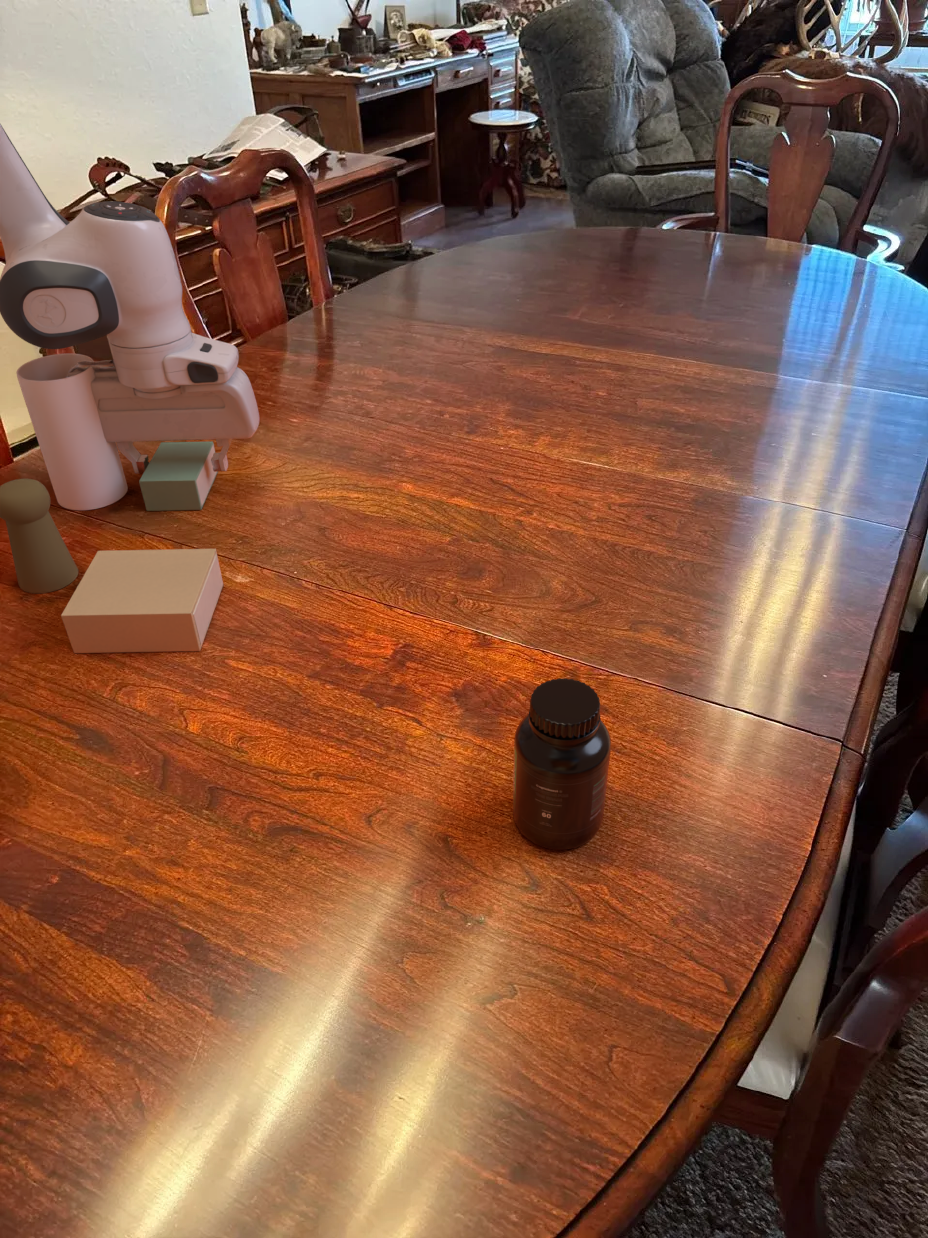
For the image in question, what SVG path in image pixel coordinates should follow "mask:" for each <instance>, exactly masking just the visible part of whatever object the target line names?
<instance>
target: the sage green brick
mask: <svg viewBox="0 0 928 1238" xmlns="http://www.w3.org/2000/svg"><path fill="white" fill-rule="evenodd" d="M214 453H216V449H215V444H214V441H213V440H210V441H160V443H159V445H158V447H157V449H156V450H155V452H154V453H153V456H152V457H151V459H150V461H149V464H148V466H147V468H146V470H145V471H144V473H143V474H141V477H140V478H139V480H138V484H139V487H140V490H141V491H140V492H141V495H142V498H143V503H144V507H145V510H146V512H161V511H162V512H163V511H167V512H168V511H170V512H171V511H172V512H173V511H201V510H203V508H204V505H205V502H206V500H207V498H208V495H209V493H210V491H211V489H212V486H213V484H214V482H215V480H216V478H217V475H218V473H219V471H218V472H214V471H213V465H212V462H211V459H212V457H213V454H214Z"/></svg>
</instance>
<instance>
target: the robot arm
mask: <svg viewBox="0 0 928 1238" xmlns="http://www.w3.org/2000/svg"><path fill="white" fill-rule="evenodd" d="M167 231H168V230H167V229H166V226H165V225H164V223H163V221H162V220H161V219H160V218H159V216H157V215H156V213H154V212H153V211H151V210H150V209H148V208H147V207H144V206H142V205H138V204H135V203H131V202H125V201H115V200H114V201H112V200H109V201H107V200H106V201H105V200H104V201H100V202H92V203H89V204H87V205H85V206H84V207H83V208H82V209H81V210H80V212H79V214H77V216H75V218H73V219H72V220H71V221H68V219H66V218H65V217H64V216H63V215H62V214H61V213H60V212H58V210H57V209H56V208H55V207H54V205H53V204H52V203H51V202H50V201H49V199H48V197H46V195H45V194H44V191H43V190H42V189H41V187H40V185H39V184H38V182H37V181H36V179H35V177H34V175H33V174H32V173H31V171H30V170H29V168H28V166H27V165H26V163H25V162H24V159H23V158H22V156H21V155H20V153H19V151H18V150H17V149H16V147H15V145H14V144H13V142H12V140H11V138H10V137H9V136H8V134H7V132H6V131H5V129H4V127H3V125H2V124H1V123H0V241H1V244H2V247H3V251H4V258H5V265H4V266H3V268H2V271H1V275H0V316H1V317H2V320H3V321H4V323H5V324H6V325H7V327H8V328H9V329H10V331H12V332H13V333H14V334H15V335H16V336H17V337H18V338H19V339H21V340H23V341H24V342H26V343H28V344H29V345H32V346H35V347H37V348H41V349H47V350H61V349H67V348H71V347H75V346H78V345H82V344H85V343H89V342H92V341H95V340H99V339H101V338H103V337H106V338H107V341H108V345H109V349H110V352H111V357H112V359H109V360H107V359H106V360H98V361H94V362H89V361H81V362H77V365H75V366H73V367H71V368H70V370H69V372H68V377H71V376H74V375H77V374H79V373H81V372H83V371H85V370H87V369H88V368H89V367H90V366H92V368H93V370H94V371H95V372H94V374H95V379H94V380H93V381H92V382H91V390H92V394H93V397H94V400H95V404H96V407H97V411H98V414H99V418H100V422H101V426H102V429H103V433H104V437H105V439H106V441H107V442H116V445H117V449H118V452H120V453H121V454H122V455H123V456H124V457H125V458H126V459H127V460H128V461H129V462H131V465H132V468H133V472H134V474H136V475H143V473H144V471H145V470H146V468H147V466H148V464H149V463H150V461H149V460H150V458H149V454H141V453H140V452H139V450H138V449H137V448H136V447H135V445H134V442H172V441H203V440H204V441H205V440H215V441H216V446H217V447H218V448H221V450H220V452H215V453H214V454H213V457H212V459H211V462H212V465H213V471H214V472H218V473H219V472H227V471H228V468H229V461H228V455H227V454H228V451H229V449H230V447H231V444H232V442H233V440H238V439H239V440H240V439H241V440H243V439H251V438H252V437H253V436H254V434H255V433H256V432H257V430H258V429H259V425H260V412H259V407H258V403H257V399H256V396H255V393H254V389H253V386H252V383H251V381H250V379H249V377H248V375H247V374H246V373H245V371H244V370H242V368H240V367H238V365H239V361H240V360H239V359H240V354H239V350H238V348H237V346H236V345H234V344H232V343H228V342H225V341H221V340H218V339H213V338H210V337H207V336H203V335H201V334H197V333H194V332H192V327H191V324H190V322H189V320H188V318H187V316H186V313H185V311H184V308H183V284H182V279H181V276H180V275H181V274H180V271H179V267H178V263H177V259H176V254H175V252H174V248H173V245H172V242H171V239H170V236H169V234H168V232H167ZM76 369H77V370H78V371H74V370H76Z"/></svg>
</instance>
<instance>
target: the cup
mask: <svg viewBox="0 0 928 1238" xmlns="http://www.w3.org/2000/svg"><path fill="white" fill-rule="evenodd" d="M81 361H89V362H95V361H94V359H93V358H92V357H90V356H89V355H85V354H81V353H57V354H50V355H45V356H41V357H37V358H35V359H31V360H29V361H27V362H25V363H24V364H22V365H20V366H19V367H18V368H17V370H16V377H17V381H18V384H19V387H20V389H21V393H22V397H23V400H24V403H25V405H26V409H27V412H28V415H29V418H30V421H31V424H32V427H33V430H34V434H35V436H36V440H37V443H38V446H39V449H40V452H41V455H42V458H43V461H44V465H45V467H46V470H47V474H48V477H49V480H50V483H51V486H52V489H53V492H54V495H55V499H56V502H57V504H58V505H59V506H61V507H62V508H64V509H67V510H71V511H91V510H96V509H101V508H104V507H107V506H110V505H112V504H115V503H116V502H118V501H120V500H121V499H122V498H123V497H124V496H125V495H126V494H127V492H128V490H129V489H128V488H129V485H128V483H127V479H126V475H125V471H124V467H123V464H122V460H121V457H120V453H119V450H118V446H117V443H116V442H107V441H106V439H105V437H104V433H103V429H102V426H101V422H100V418H99V414H98V411H97V407H96V404H95V400H94V397H93V394H92V390H91V382H92V381H93V380H94V379H95V374H94V372H95V371H94V370H93V368H92V366H90V367H89V368H88V369H87V370H85V371H83V372H81V373H79V374H77V375H74V376H71V377H68V372H69V370H70V368H71V367H73V366H75V365H77V362H81ZM74 371H78V370H77V369H76V370H74Z"/></svg>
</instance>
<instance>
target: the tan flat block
mask: <svg viewBox="0 0 928 1238" xmlns="http://www.w3.org/2000/svg"><path fill="white" fill-rule="evenodd" d="M221 571H222V570H221V566H220V562H219V556H218V553H217V548H175V549H172V548H171V549H169V548H168V549H167V548H166V549H120V550H119V549H118V550H115V549H114V550H113V549H112V550H111V549H110V550H97V552H96V553H95V555H94V557H93V559H92V560H91V562H90V564H89V566H88V567H87V569H86V571H85V572H84V574H83V576H82V578H81V580H80V581H79V583H78V585H77V586H76V588H75V590H74V592H73V593H72V595H71V597H70V599H69V600H68V602H67V604H66V606H65V608H64V609H63V611H62V613H61V614H60V617H61V620H62V623H63V626H64V629H65V631H66V634H67V637H68V640H69V643H70V645H71V649H72V652H73V653H74V654H107V653H109V654H110V653H114V654H115V653H157V652H158V653H160V652H161V653H165V652H166V653H169V652H200V651H201V649H202V648H203V647H202V646H203V644H204V642H205V638H206V635H207V633H208V630H209V628H210V625H211V621H212V618H213V616H214V613H215V609H216V608H217V604H218V601H219V598H220V596H221V592H222V591H223V588H224V581H223V576H222V575H223V574H222V572H221Z"/></svg>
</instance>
